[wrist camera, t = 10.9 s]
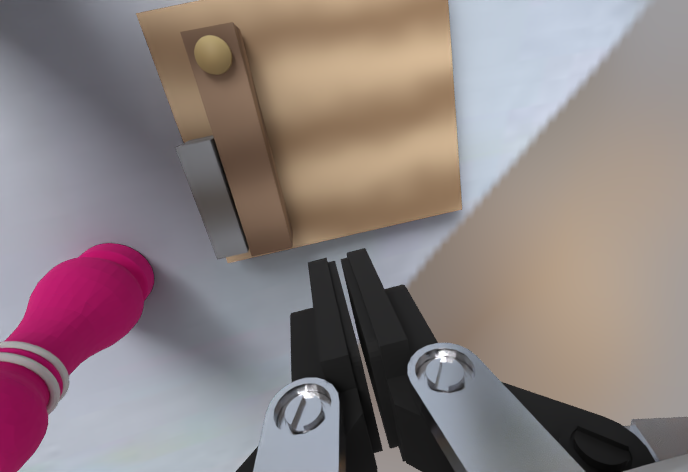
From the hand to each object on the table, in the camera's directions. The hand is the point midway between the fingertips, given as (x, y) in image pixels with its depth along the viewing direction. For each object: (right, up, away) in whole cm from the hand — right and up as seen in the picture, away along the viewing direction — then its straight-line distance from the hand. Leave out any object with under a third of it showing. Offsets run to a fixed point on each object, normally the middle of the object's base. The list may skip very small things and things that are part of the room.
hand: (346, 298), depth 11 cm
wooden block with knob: (-2, +11, +19) cm, 22 cm away
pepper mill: (-20, -2, +22) cm, 30 cm away
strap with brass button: (-7, +8, +16) cm, 19 cm away
